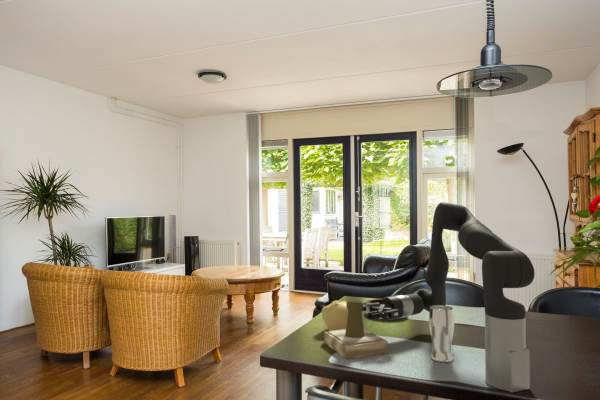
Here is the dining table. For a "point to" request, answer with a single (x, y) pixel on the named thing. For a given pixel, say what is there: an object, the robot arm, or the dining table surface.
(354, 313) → the brown tall waisted piece
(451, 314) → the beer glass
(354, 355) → the wooden stand
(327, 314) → the sculpture
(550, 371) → the dining table surface
